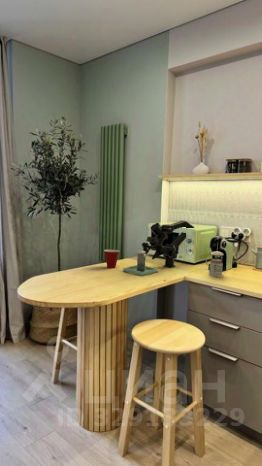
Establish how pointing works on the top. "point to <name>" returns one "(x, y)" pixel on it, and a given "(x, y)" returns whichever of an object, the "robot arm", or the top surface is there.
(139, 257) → the cylinder
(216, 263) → the french press
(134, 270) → the tray
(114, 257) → the plastic cup
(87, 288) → the top surface
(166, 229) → the robot arm
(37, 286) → the top surface
